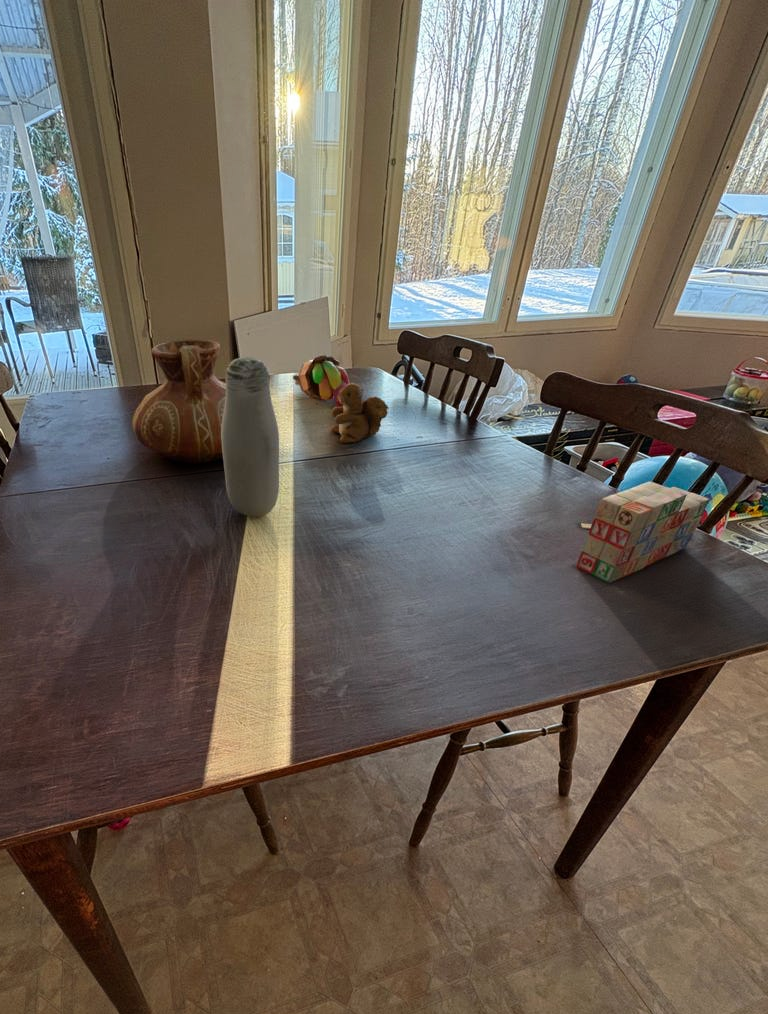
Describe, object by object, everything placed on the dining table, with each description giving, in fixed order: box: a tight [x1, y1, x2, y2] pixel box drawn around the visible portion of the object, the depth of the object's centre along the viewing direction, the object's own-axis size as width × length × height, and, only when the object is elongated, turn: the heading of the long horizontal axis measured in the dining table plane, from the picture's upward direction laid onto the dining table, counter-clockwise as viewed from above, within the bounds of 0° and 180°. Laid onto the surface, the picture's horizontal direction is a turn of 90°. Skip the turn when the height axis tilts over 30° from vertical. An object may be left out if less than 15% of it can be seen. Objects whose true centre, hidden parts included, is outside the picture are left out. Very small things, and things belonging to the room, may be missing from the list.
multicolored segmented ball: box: [292, 354, 350, 407], centre depth 167 cm, size 15×15×25 cm
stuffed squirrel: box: [330, 381, 390, 444], centre depth 136 cm, size 10×14×13 cm
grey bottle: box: [221, 356, 280, 518], centre depth 97 cm, size 10×10×28 cm
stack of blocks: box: [575, 481, 711, 584], centre depth 87 cm, size 21×6×12 cm, turn 120°
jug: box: [131, 338, 226, 464], centre depth 127 cm, size 30×30×25 cm
